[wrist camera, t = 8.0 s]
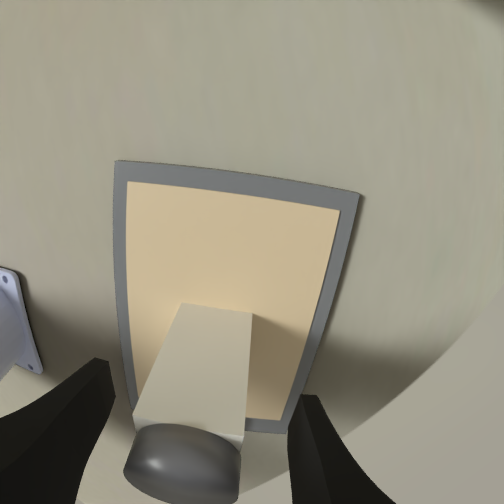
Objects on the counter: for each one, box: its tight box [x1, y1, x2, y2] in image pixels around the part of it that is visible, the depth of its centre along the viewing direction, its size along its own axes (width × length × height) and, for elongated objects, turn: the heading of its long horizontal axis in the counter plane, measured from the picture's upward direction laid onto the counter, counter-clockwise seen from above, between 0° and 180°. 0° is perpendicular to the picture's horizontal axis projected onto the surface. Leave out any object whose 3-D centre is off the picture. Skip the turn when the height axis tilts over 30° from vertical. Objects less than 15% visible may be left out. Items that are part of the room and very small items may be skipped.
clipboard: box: [113, 160, 360, 434], centre depth 14 cm, size 10×15×1 cm, turn 172°
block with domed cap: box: [123, 302, 252, 504], centre depth 10 cm, size 3×3×8 cm
